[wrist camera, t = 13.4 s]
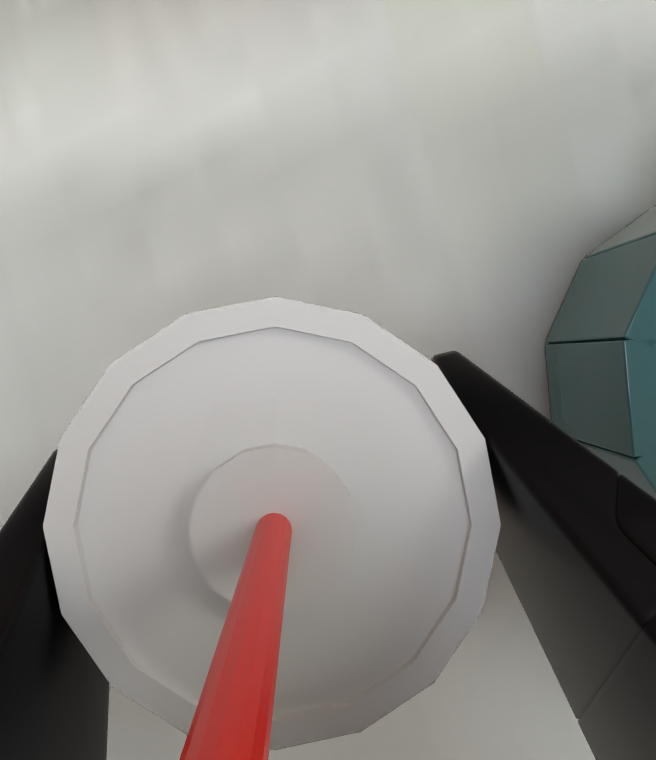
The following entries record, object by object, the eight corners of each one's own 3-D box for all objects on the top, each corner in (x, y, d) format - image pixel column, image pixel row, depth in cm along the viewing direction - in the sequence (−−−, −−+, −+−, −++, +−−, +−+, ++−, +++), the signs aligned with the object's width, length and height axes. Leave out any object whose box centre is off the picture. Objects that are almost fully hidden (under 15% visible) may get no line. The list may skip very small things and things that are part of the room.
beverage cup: (186, 544, 17) (-443, 1472, 3) (186, 331, 17) (-481, 159, 3) (398, 544, 17) (820, 1402, 3) (399, 333, 17) (859, 178, 3)
